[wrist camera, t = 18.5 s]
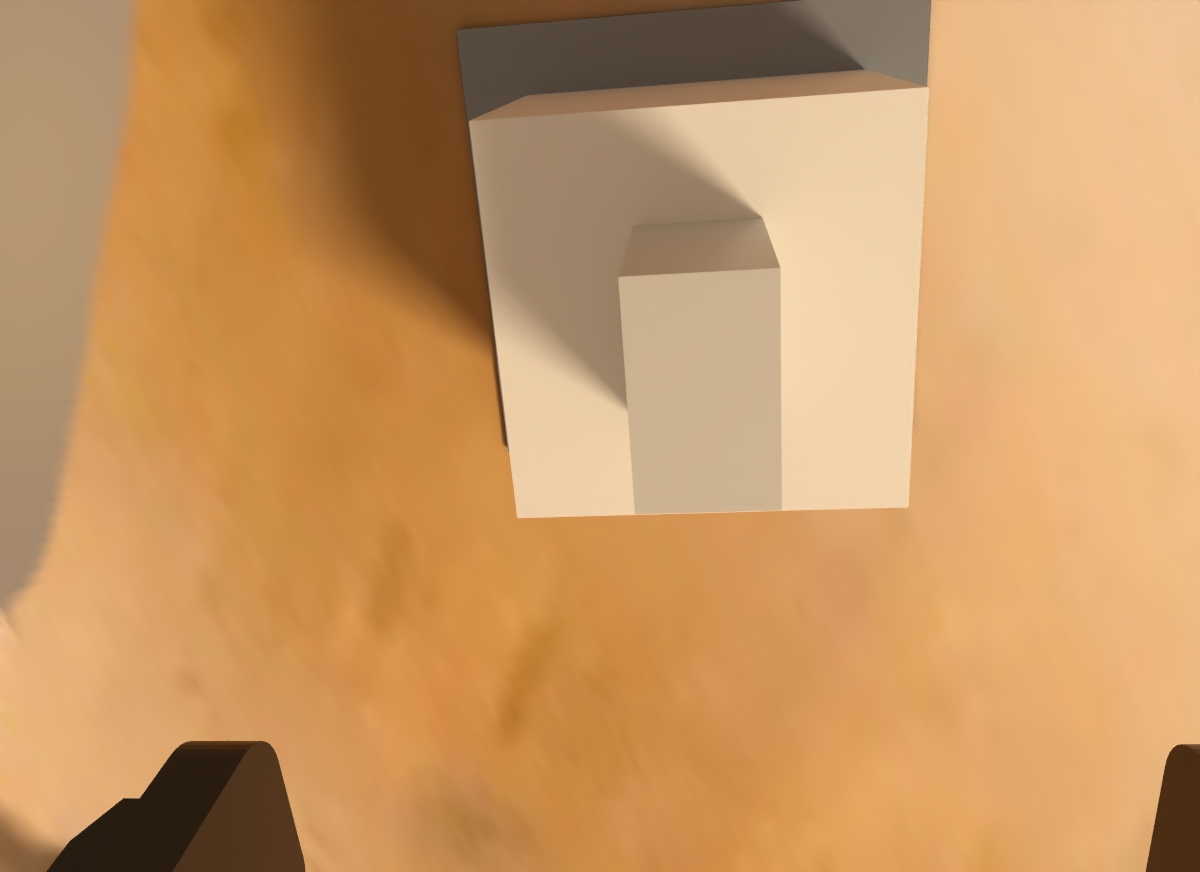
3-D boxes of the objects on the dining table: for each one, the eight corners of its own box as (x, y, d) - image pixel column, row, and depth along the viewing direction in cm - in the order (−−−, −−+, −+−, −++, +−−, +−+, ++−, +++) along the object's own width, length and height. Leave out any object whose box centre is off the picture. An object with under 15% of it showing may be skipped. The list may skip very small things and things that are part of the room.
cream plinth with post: (528, 94, 30) (410, 146, 18) (864, 69, 29) (994, 104, 17) (558, 401, 34) (479, 623, 22) (856, 388, 33) (956, 615, 20)
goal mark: (457, 29, 30) (455, 29, 30) (930, -11, 28) (931, -11, 28) (509, 449, 35) (508, 451, 35) (908, 434, 34) (910, 437, 33)
